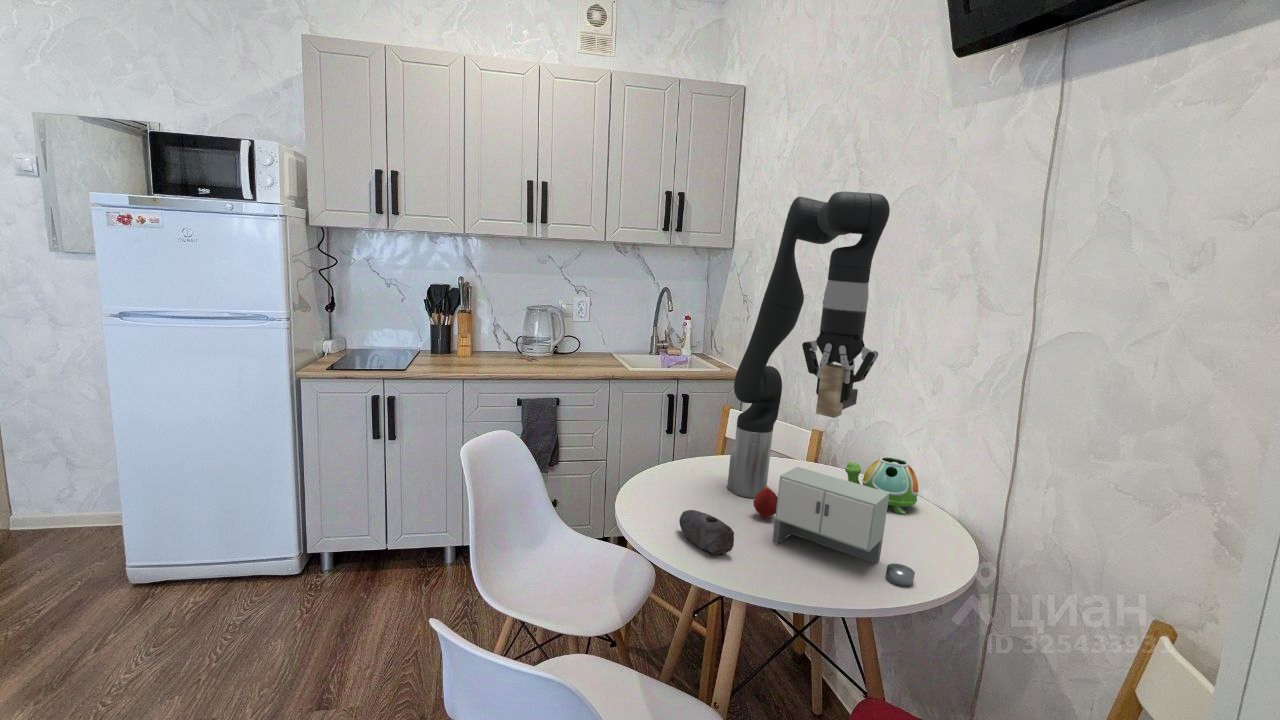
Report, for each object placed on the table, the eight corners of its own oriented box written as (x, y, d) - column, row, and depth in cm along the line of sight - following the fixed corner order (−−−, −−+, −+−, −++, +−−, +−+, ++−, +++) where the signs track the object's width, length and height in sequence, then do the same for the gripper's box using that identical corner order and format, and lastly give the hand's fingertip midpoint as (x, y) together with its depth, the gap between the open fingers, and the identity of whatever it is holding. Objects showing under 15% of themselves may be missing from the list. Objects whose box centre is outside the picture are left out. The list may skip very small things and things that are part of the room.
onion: (778, 516, 147) (782, 484, 145) (775, 525, 141) (779, 492, 140) (754, 511, 149) (757, 479, 147) (750, 520, 143) (753, 487, 142)
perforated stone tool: (670, 532, 134) (673, 502, 133) (689, 528, 137) (692, 498, 136) (714, 563, 122) (718, 530, 121) (734, 558, 125) (738, 526, 124)
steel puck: (881, 580, 120) (883, 569, 120) (890, 572, 124) (891, 560, 123) (908, 591, 117) (910, 579, 116) (916, 581, 121) (918, 570, 120)
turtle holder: (845, 487, 169) (850, 445, 167) (916, 502, 162) (923, 459, 160) (838, 502, 158) (844, 457, 156) (914, 519, 151) (922, 473, 149)
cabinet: (770, 543, 132) (778, 476, 130) (789, 529, 140) (797, 466, 137) (864, 578, 120) (874, 505, 118) (879, 561, 128) (889, 492, 125)
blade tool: (815, 413, 113) (821, 365, 111) (845, 401, 124) (851, 357, 123) (834, 417, 111) (840, 368, 109) (862, 405, 122) (868, 360, 121)
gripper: (891, 311, 109) (878, 405, 112) (815, 302, 118) (804, 390, 121) (877, 312, 103) (864, 411, 106) (798, 303, 112) (788, 395, 115)
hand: (832, 399), depth 113 cm, fingers closed on blade tool, 3 cm apart
